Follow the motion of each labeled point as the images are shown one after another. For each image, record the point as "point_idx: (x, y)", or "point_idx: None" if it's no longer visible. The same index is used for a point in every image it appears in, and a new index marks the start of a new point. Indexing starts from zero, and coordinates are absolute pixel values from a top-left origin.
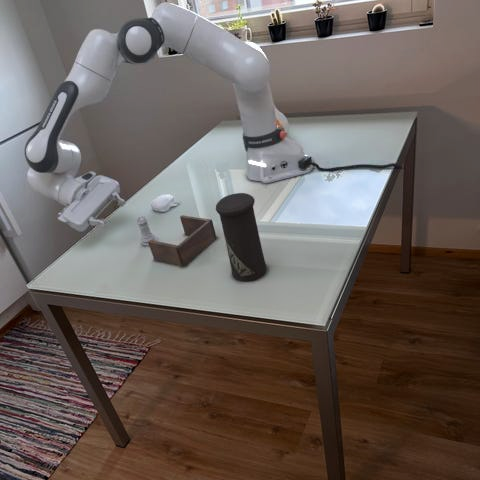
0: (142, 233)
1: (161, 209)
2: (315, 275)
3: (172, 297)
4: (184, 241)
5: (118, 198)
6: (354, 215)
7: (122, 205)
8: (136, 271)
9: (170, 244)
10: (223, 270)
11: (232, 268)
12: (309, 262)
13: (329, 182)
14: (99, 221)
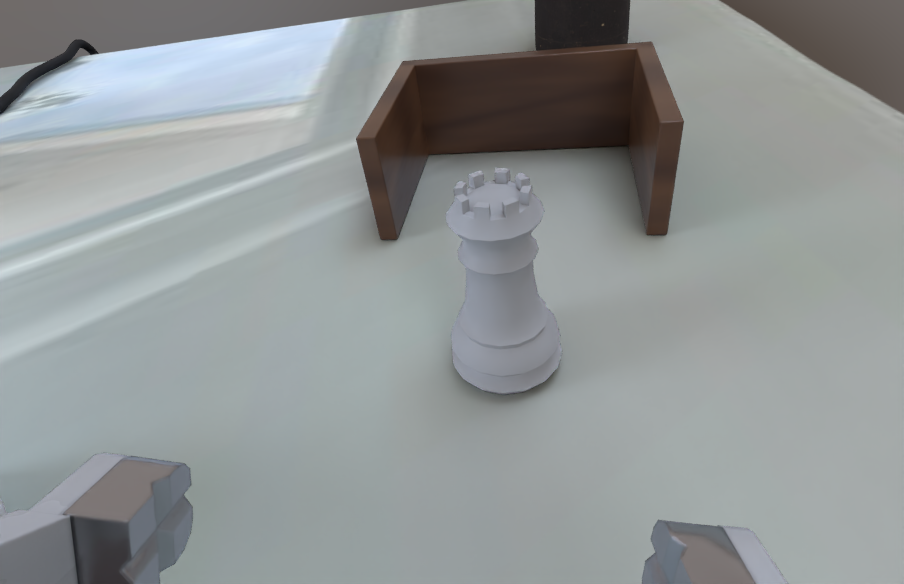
0: (535, 288)
1: (4, 512)
2: None
3: (815, 92)
4: (598, 47)
5: (46, 524)
6: (298, 34)
7: (187, 506)
8: (805, 251)
9: (646, 61)
10: None
11: (625, 16)
12: (499, 18)
13: (87, 95)
14: (786, 581)
